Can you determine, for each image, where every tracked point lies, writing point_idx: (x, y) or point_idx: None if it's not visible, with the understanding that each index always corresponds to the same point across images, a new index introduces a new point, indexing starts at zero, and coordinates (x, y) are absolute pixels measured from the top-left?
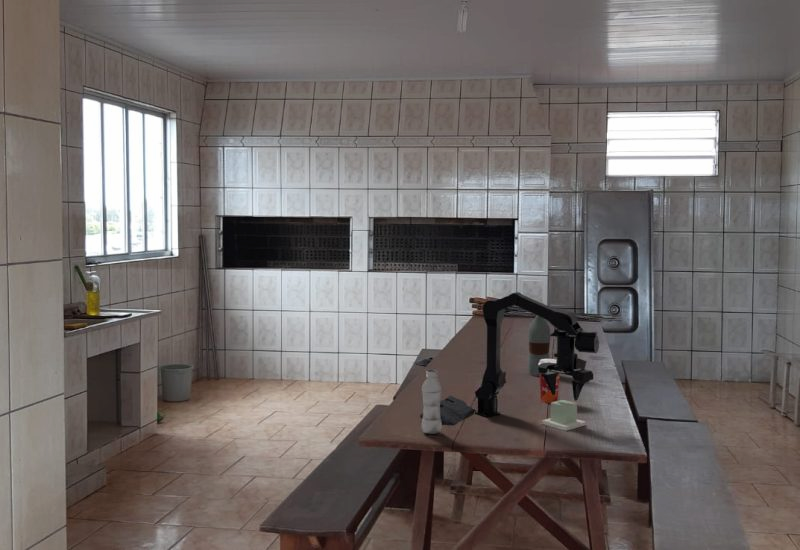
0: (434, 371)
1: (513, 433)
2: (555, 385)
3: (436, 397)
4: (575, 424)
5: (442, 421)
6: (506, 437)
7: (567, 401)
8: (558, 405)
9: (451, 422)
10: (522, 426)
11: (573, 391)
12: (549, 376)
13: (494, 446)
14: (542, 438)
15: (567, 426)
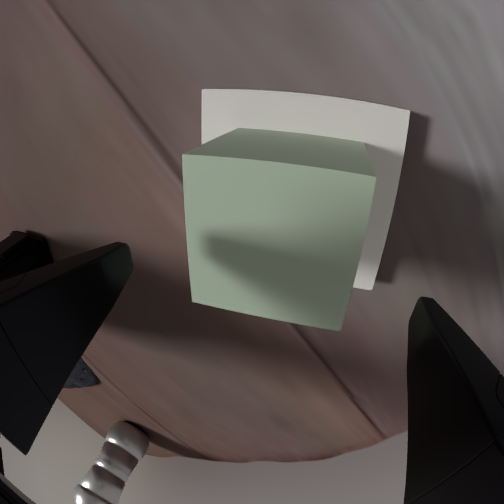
0: None
1: (233, 391)
2: (59, 286)
3: (119, 498)
4: (392, 211)
5: (84, 386)
6: (248, 419)
7: (255, 175)
8: (271, 314)
9: (92, 384)
10: (190, 322)
11: (414, 437)
12: (15, 424)
13: (276, 458)
14: (339, 393)
15: (374, 276)
